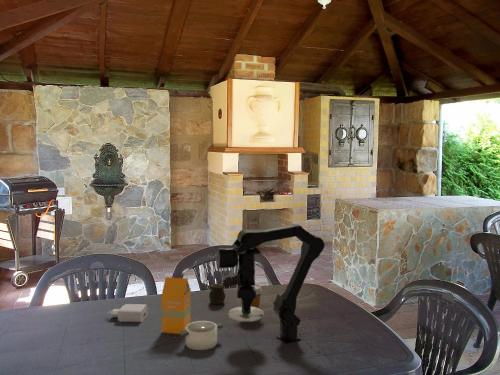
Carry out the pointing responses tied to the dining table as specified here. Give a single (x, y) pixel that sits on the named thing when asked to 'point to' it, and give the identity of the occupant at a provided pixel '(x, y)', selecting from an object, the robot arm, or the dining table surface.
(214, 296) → the mate gourd
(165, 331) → the orange juice
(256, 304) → the disposable coffee cup
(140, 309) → the charger
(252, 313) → the lid
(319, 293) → the dining table surface
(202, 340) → the pot
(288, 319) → the robot arm
